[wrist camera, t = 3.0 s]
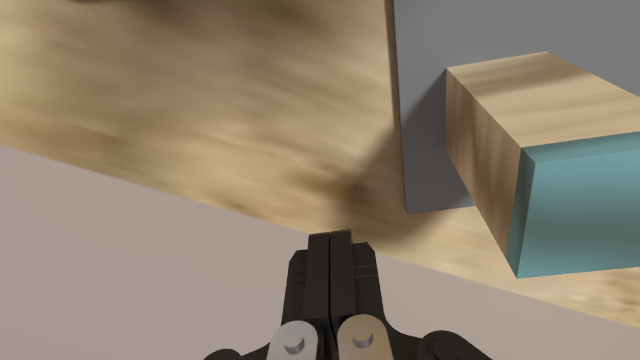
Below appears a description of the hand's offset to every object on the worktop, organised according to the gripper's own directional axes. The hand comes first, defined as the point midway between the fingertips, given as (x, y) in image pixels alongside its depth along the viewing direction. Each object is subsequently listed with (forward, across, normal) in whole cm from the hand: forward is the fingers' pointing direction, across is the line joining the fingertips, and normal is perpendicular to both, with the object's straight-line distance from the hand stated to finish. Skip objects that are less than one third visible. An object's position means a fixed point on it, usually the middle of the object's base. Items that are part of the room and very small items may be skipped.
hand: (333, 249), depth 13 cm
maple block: (+10, -9, 0) cm, 13 cm away
